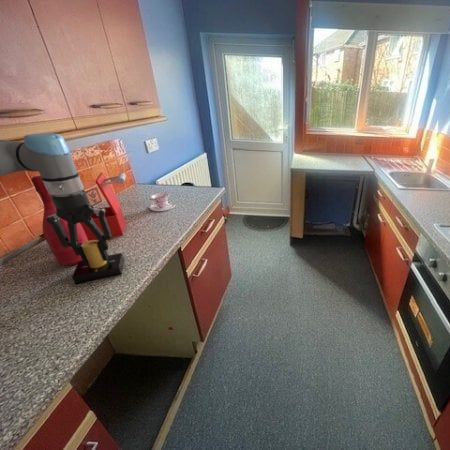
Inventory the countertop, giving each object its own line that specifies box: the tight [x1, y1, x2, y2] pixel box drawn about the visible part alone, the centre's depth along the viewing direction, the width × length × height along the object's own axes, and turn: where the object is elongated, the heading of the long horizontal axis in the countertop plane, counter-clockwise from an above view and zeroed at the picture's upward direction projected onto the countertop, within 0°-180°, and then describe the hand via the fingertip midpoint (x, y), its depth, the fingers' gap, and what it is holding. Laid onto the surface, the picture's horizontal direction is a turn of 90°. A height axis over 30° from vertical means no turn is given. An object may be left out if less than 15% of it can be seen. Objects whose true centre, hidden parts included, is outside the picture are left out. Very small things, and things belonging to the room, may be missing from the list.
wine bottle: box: [31, 175, 88, 266], centre depth 81 cm, size 10×10×30 cm
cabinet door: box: [94, 171, 127, 215], centre depth 101 cm, size 15×12×8 cm
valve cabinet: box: [80, 206, 127, 241], centre depth 103 cm, size 14×12×9 cm
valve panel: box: [71, 252, 125, 286], centre depth 82 cm, size 12×9×3 cm
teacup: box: [149, 192, 176, 212], centre depth 127 cm, size 12×12×6 cm
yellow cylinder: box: [81, 239, 107, 268], centre depth 79 cm, size 4×4×8 cm
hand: (96, 260), depth 80 cm, fingers closed on yellow cylinder, 4 cm apart
